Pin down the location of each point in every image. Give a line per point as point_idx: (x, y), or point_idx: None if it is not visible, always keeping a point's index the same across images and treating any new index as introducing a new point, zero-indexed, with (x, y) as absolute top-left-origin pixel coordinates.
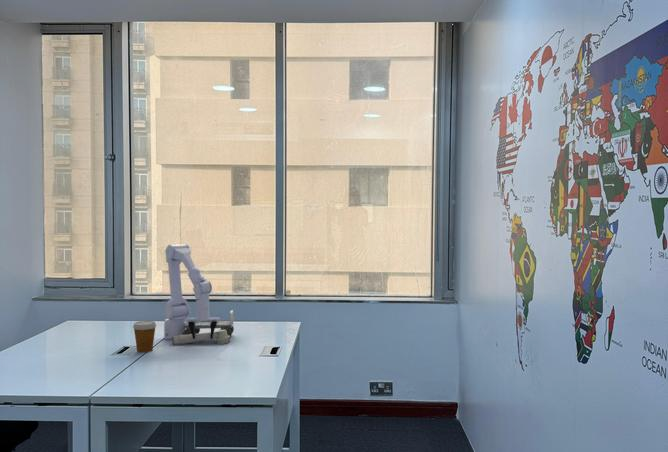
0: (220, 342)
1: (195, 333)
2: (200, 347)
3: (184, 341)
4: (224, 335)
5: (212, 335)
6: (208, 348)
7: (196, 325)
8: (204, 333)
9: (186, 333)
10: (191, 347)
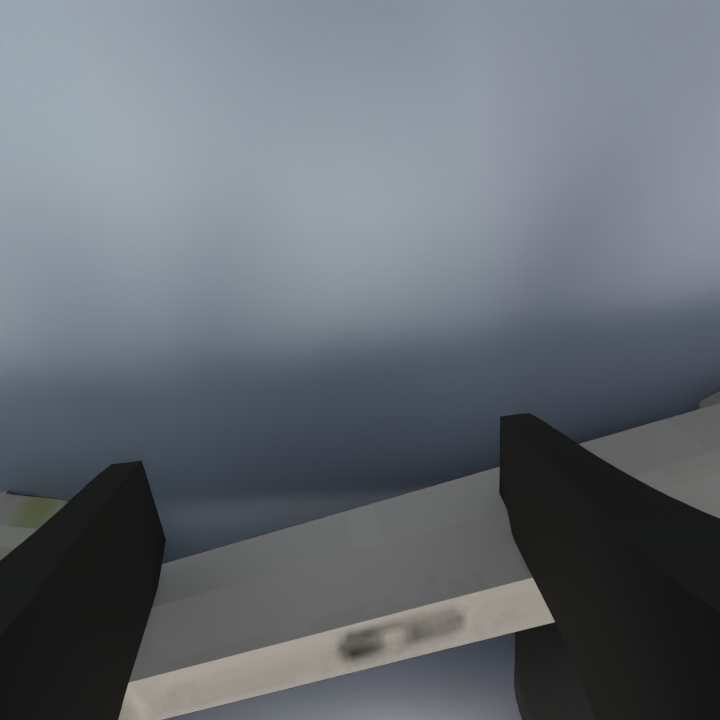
0: (19, 507)
1: (538, 697)
2: (310, 190)
3: (681, 420)
4: None
5: (65, 508)
6: (100, 98)
7: None
8: (324, 633)
9: None
10: (496, 185)
